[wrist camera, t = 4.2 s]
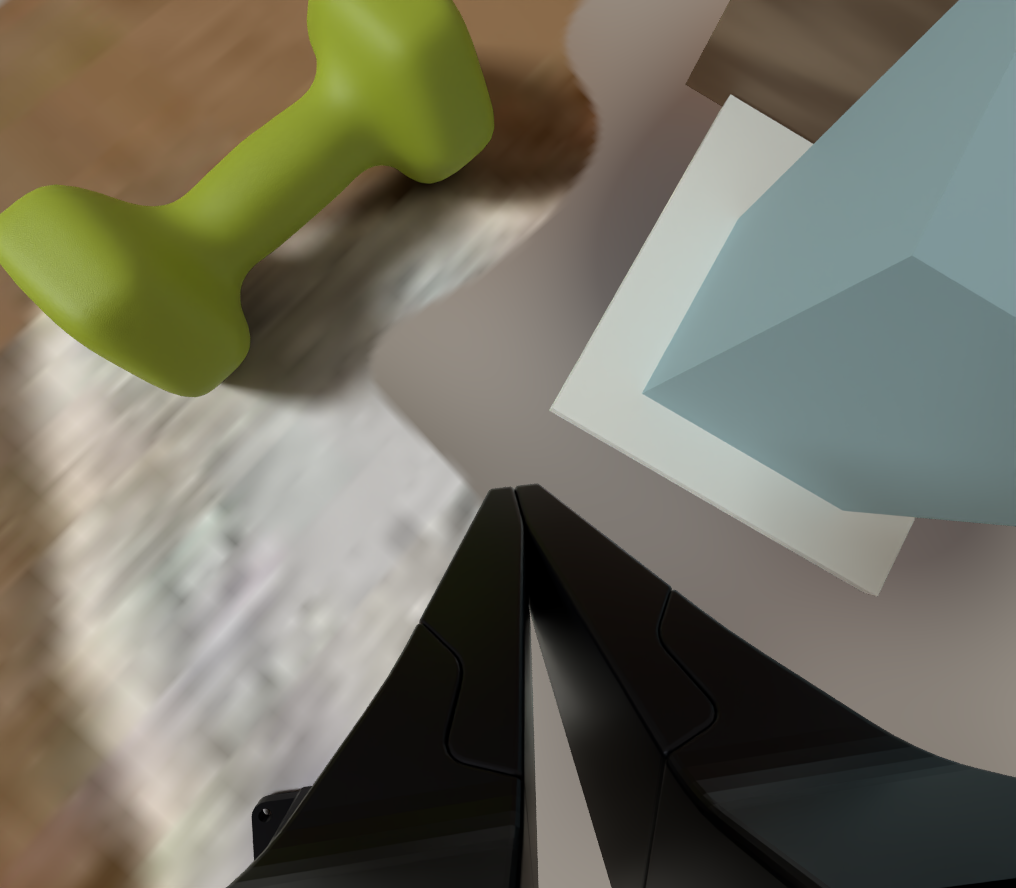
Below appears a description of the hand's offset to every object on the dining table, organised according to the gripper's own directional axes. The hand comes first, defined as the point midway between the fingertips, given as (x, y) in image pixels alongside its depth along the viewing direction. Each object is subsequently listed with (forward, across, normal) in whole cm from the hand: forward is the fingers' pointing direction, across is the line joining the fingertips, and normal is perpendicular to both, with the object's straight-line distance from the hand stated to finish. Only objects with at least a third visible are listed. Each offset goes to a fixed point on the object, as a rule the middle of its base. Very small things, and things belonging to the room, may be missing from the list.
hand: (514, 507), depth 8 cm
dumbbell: (+17, +7, -3) cm, 19 cm away
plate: (+13, -14, +2) cm, 20 cm away
